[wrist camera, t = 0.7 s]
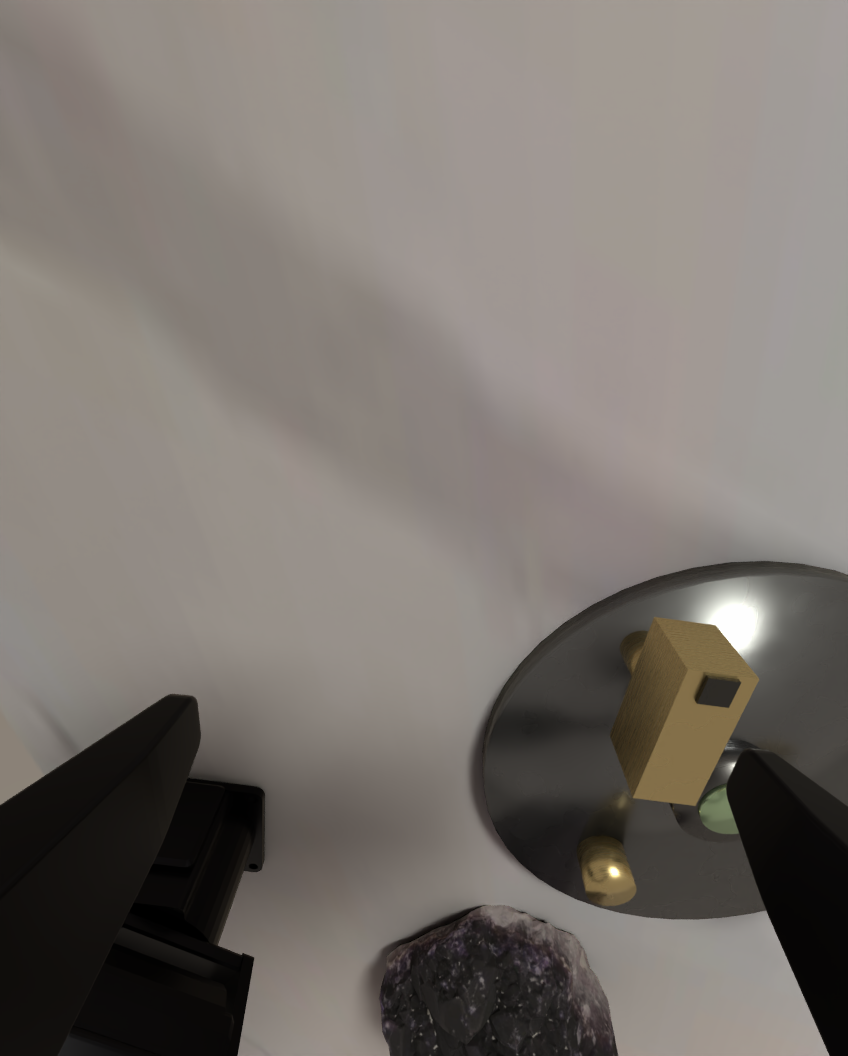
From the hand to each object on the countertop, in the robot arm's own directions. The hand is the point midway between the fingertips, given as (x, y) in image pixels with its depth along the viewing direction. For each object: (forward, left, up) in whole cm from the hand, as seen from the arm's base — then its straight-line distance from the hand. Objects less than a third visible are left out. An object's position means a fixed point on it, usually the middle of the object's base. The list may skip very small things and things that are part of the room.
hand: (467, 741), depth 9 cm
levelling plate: (-12, -15, -13) cm, 23 cm away
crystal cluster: (-32, -7, -13) cm, 36 cm away
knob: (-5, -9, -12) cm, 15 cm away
